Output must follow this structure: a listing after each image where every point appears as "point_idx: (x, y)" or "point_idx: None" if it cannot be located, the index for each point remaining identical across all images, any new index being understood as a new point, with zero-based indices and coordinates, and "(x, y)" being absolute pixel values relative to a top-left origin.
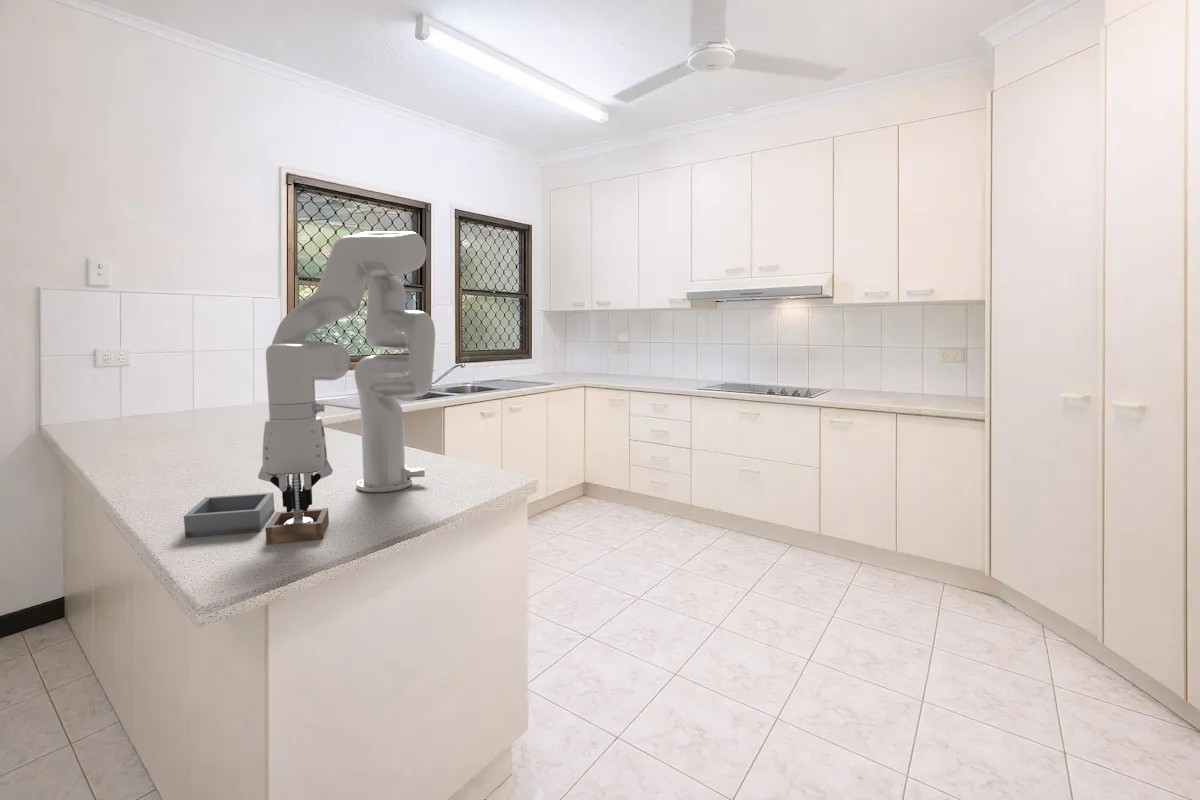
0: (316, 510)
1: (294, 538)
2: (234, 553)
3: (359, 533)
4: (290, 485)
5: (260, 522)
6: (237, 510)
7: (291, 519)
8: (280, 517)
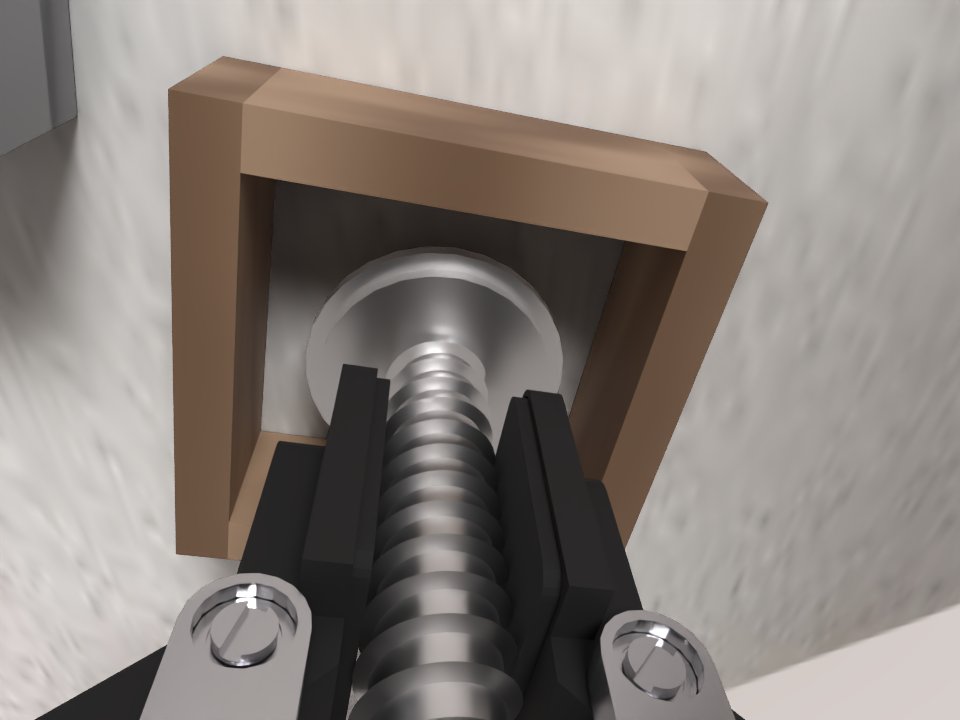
0: (631, 238)
1: None
2: (39, 530)
3: (821, 490)
4: (333, 684)
5: (32, 119)
6: None
7: (368, 320)
8: (246, 215)
